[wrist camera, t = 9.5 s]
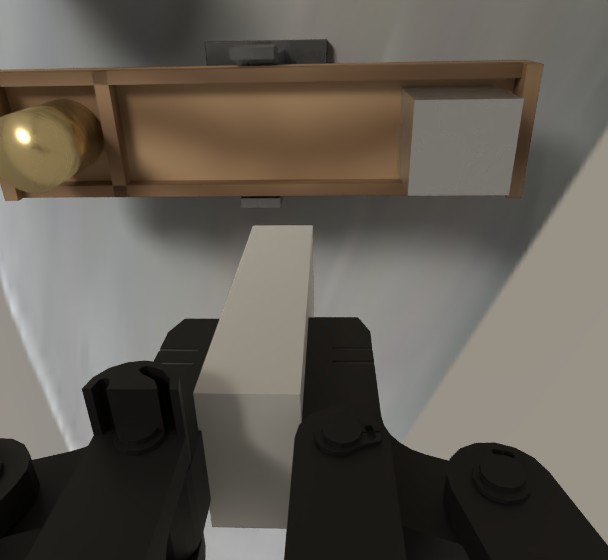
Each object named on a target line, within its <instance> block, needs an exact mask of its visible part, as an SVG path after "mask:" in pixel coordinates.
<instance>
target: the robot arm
mask: <svg viewBox="0 0 608 560" xmlns="http://www.w3.org/2000/svg"><path fill="white" fill-rule="evenodd" d="M82 391H83V395H84V399H85V403H86V407H87V411H88V414H89V418H90V422H91V426H92V430H93V434H94V436H93V438H92V440H91V442H90V444H89V445H88V446H87V447H84V448H81V449H77V450H74V451H71V452H66V453H62V454H58V455H53V456H48V457H44V458H40V459H35V460H31V456H30V454H29V452H28V450H27V448H26V447H25V445H24V444H22V443H20V442H18V441H16V440H14V439H4V438H0V560H205V539H204V533H203V531H204V527H205V522H206V518H207V514H208V510H209V507H210V514H211V521H212V527H234V528H280V529H287V533H286V544H285V556H284V560H608V545H607V544H606V543H605V542H604V540H603V539H602V538H601V537H600V535H599V534H598V533H597V532H596V530H595V529H594V528H593V527H592V525H591V524H590V523H589V522H588V520H587V519H586V518H585V516H584V515H583V514H582V513H581V511H580V510H579V509H578V508H577V507H576V505H575V504H574V503H573V501H572V500H571V499H570V498H569V496H568V495H567V494H566V493H565V491H564V490H563V489H562V488H561V486H560V485H559V484H558V483H557V481H556V480H555V479H554V478H553V476H552V475H551V474H550V472H549V471H548V470H547V469H545V468H544V467H543V466H542V465H541V464H540V463H539V462H538V461H537V460H536V459H535V458H533V457H532V456H530V455H528V454H526V453H524V452H522V451H520V450H518V449H516V448H513V447H510V446H506V445H502V444H498V443H474V444H472V445H469V446H466V447H463V448H460V449H459V450H458V451H457V452H456V453H455V454H454V455H453V456H452V457H451V458H450V460H449V461H448V460H444V459H440V458H436V457H433V456H429V455H425V454H423V453H419V452H417V451H414V450H412V449H410V448H408V447H406V446H405V445H403V444H401V443H399V442H398V441H397V440H396V439H395V438H394V437H393V436H392V435H390V433H389V432H388V430H387V429H386V427H385V426H384V424H383V421H382V417H381V412H380V404H379V396H378V389H377V381H376V373H375V366H374V358H373V351H372V343H371V335H370V331H369V330H368V328H367V327H366V326H365V325H364V324H363V323H362V322H361V320H360V319H359V318H358V317H314V277H313V225H273V226H253V227H252V230H251V232H250V235H249V238H248V241H247V244H246V246H245V249H244V252H243V255H242V258H241V260H240V263H239V266H238V269H237V272H236V274H235V277H234V280H233V283H232V286H231V289H230V291H229V294H228V297H227V300H226V303H225V305H224V308H223V311H222V314H221V317H220V319H184V320H183V321H182V322H180V323H179V324H178V325H177V326H175V327H174V328H173V329H172V330H170V331H169V332H168V334H167V336H166V338H165V340H164V342H163V344H162V346H161V348H160V351H159V352H158V354H157V356H156V358H155V360H154V362H152V361H137V362H127V363H124V364H121V365H118V366H114V367H111V368H108V369H107V370H105V371H103V372H101V373H100V374H98V375H96V376H95V377H93V378H92V379H91V380H90V381H89V382H88V383H87V384H86V385H85V386H84V387H83V388H82Z"/></svg>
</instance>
